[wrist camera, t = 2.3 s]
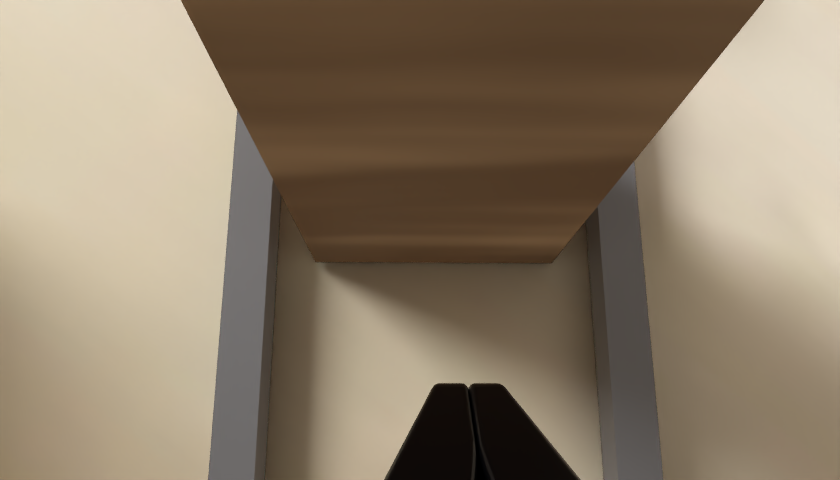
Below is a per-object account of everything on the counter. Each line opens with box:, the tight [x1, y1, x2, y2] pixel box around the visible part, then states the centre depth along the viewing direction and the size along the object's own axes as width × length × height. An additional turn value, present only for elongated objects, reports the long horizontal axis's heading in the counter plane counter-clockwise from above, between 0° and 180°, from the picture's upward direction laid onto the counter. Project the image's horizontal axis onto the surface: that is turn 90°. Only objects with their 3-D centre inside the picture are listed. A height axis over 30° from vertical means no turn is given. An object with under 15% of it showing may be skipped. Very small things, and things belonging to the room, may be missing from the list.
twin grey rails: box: [208, 110, 663, 480], centre depth 17 cm, size 18×10×3 cm, turn 0°
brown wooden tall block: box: [181, 0, 764, 263], centre depth 12 cm, size 3×6×13 cm, turn 90°
